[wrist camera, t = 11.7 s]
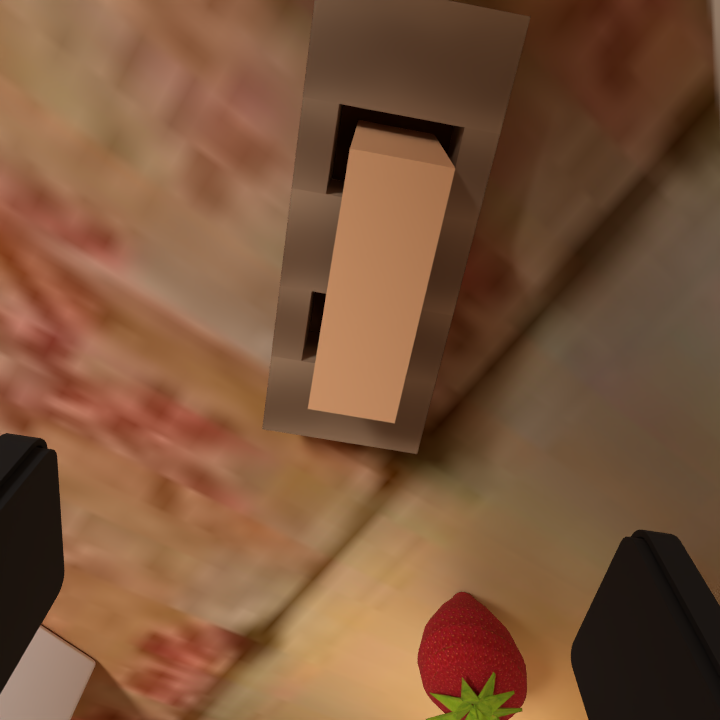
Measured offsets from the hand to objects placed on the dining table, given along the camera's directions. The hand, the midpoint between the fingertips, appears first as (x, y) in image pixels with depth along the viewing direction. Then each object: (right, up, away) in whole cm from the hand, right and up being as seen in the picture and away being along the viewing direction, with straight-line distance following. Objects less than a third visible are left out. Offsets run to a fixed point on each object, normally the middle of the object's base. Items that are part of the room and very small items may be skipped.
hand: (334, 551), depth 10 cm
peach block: (+1, +9, +20) cm, 22 cm away
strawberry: (+7, -12, +31) cm, 34 cm away
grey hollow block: (+1, +9, +20) cm, 22 cm away
